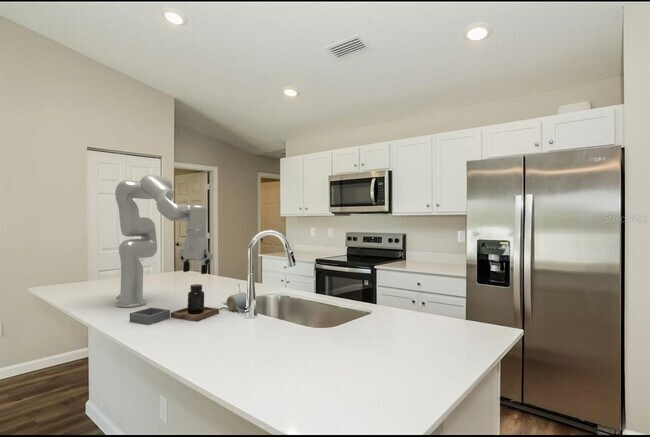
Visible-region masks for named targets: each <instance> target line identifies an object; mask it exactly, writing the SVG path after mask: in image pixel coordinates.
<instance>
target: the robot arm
mask: <svg viewBox="0 0 650 437" xmlns="http://www.w3.org/2000/svg"><path fill="white" fill-rule="evenodd" d="M114 193H115V194H114V195H115V196H114V197H115V200H116V204H117V206H118V215H119V216H118V217H119V225H120V231H121V232H120V233H121V234H122V236H125V237H134V238H133V239H132V238H131V239H127V240H123V241H122V242H121V243H120V244H119V246H118V254H119V259H120V293H119V295H118V296H116V297H115V299H116V300H118V302H116V304H115V306H116V307H118V308H134V307H136V308H137V307H141V306H144V305H146V303H147V301H146V299H143V298H144V296H143V294H144V266H143V263H142V262H141V261H140V259H146V258H147V259H148V258H152V257H154V256H155V255H156V254H157V252H158V240H157V228H156V225H155V222H154V221H153V219H151V218H149V217H146V216H145V217H143V216H140V209H139V207H138V205H137V203H136V201H135V200H134V199H139V200H140V199H142V200H154V201H156V202H155V203H156V204H155V205H156V209H157V210H158V212H159V213H160V214H161V215H162V216H163V217H164V218H166V219H167V220H169V221H171V222H187V229H186V234H187V236H185V238H184V243H183V249H182V250H181V251H179V253H178V254H179V256H180V259H181V261H182V263H183V268H182V269H183V270H182V271H183V272H182V273H187V272H190V270H191V268H190V267H191V266H190V264H191V263H190V261H200V262H201V267H200V268H201V269H200V270H201V271H200V274H201V275H205V274H208V265H209V264H210V262H212V259H213V258H214V255H213V253H211V252H209V246H208V245H209V244H208V237H207V218H208V217H207V215H208V214H207V213H208V208H207V207H206V206H205V205H196V204H195V205H193V204H184V203H174V202H173V199H174V197H175V193H174V190H173V183H172V181H171V179H169V178H168V177H166V176H160V175H153V174H147V175H145V176H143V177H141V179H140V181H139V180H131V179H129V180H122V181H120V182H119V183H118V184H117V185H116V187H115V192H114ZM135 237H140V238H135Z"/></svg>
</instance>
